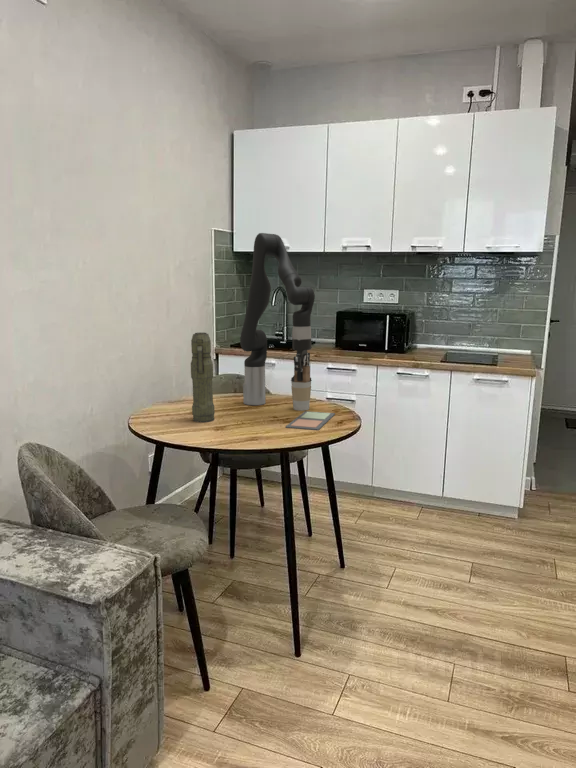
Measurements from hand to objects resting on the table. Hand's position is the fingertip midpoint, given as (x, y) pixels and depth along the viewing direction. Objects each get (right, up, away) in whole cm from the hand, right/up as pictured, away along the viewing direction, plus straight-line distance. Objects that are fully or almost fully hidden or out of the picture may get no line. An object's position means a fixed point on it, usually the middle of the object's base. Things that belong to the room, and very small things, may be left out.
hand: (302, 379), depth 231 cm
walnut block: (0, -1, 0) cm, 1 cm away
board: (+4, -16, -2) cm, 17 cm away
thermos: (-40, -16, +1) cm, 43 cm away
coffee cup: (0, -13, +19) cm, 23 cm away
